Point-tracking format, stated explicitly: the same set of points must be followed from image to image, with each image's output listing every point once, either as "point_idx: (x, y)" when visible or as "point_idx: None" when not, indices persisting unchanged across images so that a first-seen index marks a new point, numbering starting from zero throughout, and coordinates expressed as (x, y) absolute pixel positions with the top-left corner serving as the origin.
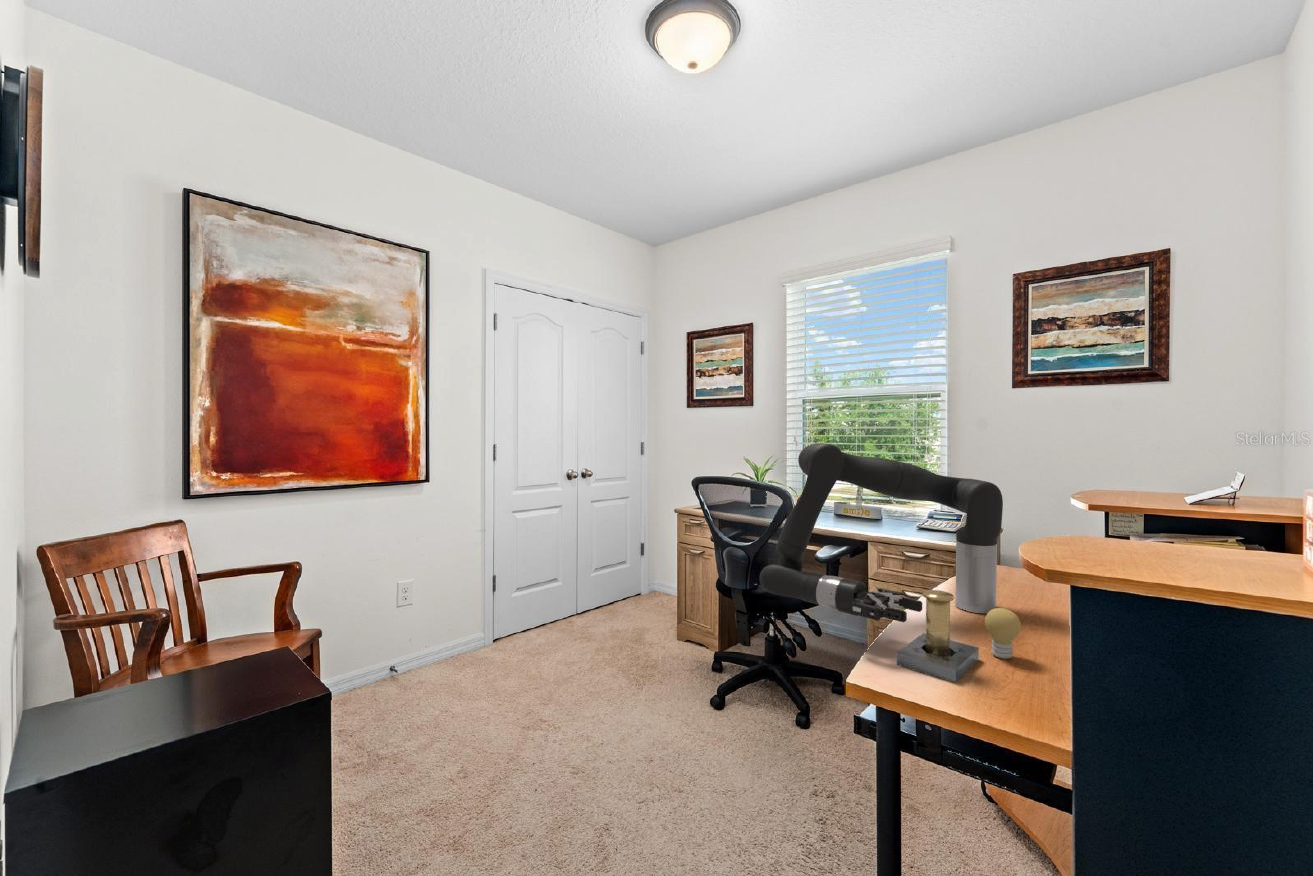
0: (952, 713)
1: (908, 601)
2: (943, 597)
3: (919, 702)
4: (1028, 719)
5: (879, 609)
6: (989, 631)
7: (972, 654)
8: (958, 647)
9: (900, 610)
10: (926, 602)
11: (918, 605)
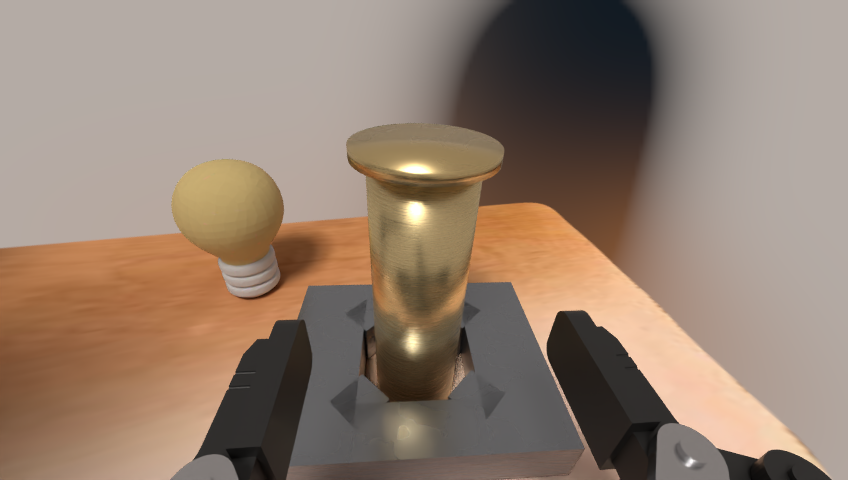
0: (628, 278)
1: (281, 408)
2: (453, 132)
3: (673, 325)
4: (518, 222)
5: (779, 452)
6: (260, 241)
7: (369, 286)
8: (344, 317)
9: (587, 332)
10: (461, 210)
11: (301, 347)
